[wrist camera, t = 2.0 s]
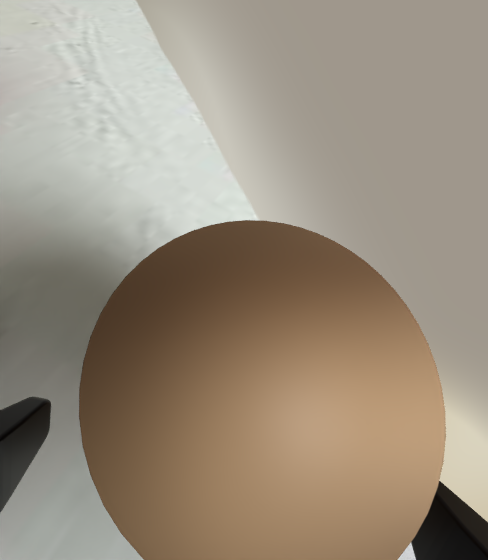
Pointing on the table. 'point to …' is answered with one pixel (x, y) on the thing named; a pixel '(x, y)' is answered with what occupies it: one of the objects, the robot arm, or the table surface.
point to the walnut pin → (261, 402)
